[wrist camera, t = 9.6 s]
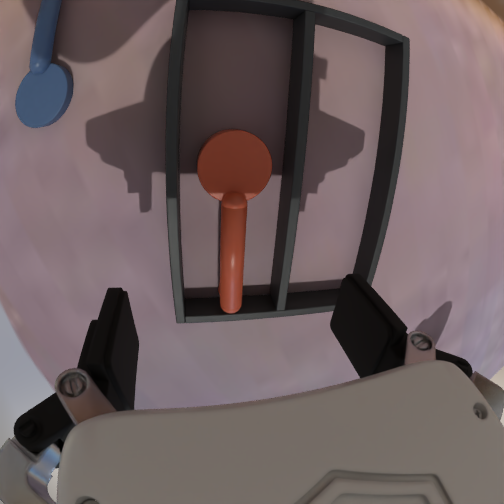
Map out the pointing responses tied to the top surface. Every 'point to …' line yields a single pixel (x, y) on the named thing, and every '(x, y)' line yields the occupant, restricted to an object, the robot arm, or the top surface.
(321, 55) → the top surface
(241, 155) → the terracotta spoon
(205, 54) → the top surface
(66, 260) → the top surface
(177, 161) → the sorting tray
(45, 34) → the blue spoon
